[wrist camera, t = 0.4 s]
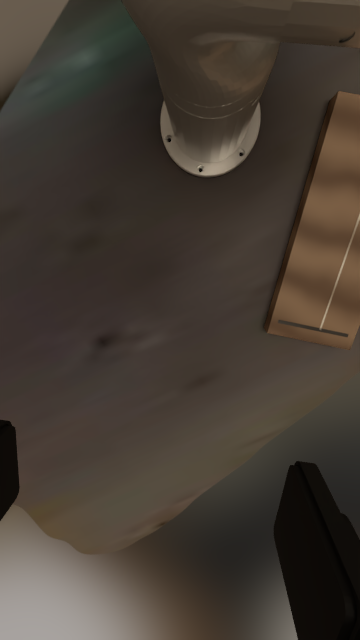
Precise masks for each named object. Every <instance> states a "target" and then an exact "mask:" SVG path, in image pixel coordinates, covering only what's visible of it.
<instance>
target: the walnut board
mask: <svg viewBox="0 0 360 640" xmlns="http://www.w3.org/2000/svg"><path fill="white" fill-rule="evenodd" d="M359 325H360V95H357V94H351V93H346V92H341V91H338V92H337V93H336V95H335V96H334V97H333V98H332V99H331V100H330V101H329V105H328V108H327V112H326V115H325V119H324V122H323V125H322V129H321V132H320V136H319V139H318V143H317V146H316V150H315V153H314V157H313V160H312V163H311V167H310V170H309V174H308V177H307V181H306V184H305V188H304V191H303V194H302V198H301V201H300V205H299V208H298V212H297V215H296V219H295V222H294V225H293V229H292V232H291V236H290V239H289V243H288V246H287V250H286V253H285V257H284V260H283V263H282V267H281V270H280V274H279V277H278V281H277V284H276V288H275V291H274V294H273V298H272V301H271V305H270V308H269V312H268V315H267V319H266V322H265V326H264V329H265V330H266V332H267V333H270V334H275V335H280V336H285V337H290V338H294V339H299V340H304V341H309V342H314V343H318V344H323V345H328V346H333V347H338V348H342V349H347V350H350V349H351V346H352V343H353V341H354V338H355V336H356V333H357V330H358V328H359Z"/></svg>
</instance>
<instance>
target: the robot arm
mask: <svg viewBox="0 0 360 640" xmlns="http://www.w3.org/2000/svg"><path fill="white" fill-rule="evenodd" d="M121 1H122V3H123V5H124V6H125V8H126V10H127V11H128V13H129V15H130V16H131V18H132V19H133V21H134V23H135V24H136V26H137V27H138V29H139V30H140V32H141V33H142V34H143V36H144V37H145V39H146V40H147V43H148V45H149V48H150V51H151V54H152V57H153V61H154V64H155V68H156V72H157V76H158V79H159V83H160V87H161V90H162V94H163V97H164V101H163V105H162V109H161V117H160V127H161V135H162V139H163V142H164V145H165V148H166V150H167V152H168V154H169V155H170V157H171V159H172V160H173V161H174V162H175V163H176V164H177V166H179V167H180V168H181V169H183V170H184V171H185V172H187V173H189V174H191V175H194V176H198V177H203V178H212V177H218V176H222V175H224V174H227V173H229V172H230V171H232V170H234V169H235V168H237V167H238V166H239V165H240V164H241V163H242V162H243V161H244V160H245V159H246V157H247V156H248V155H249V153H250V152H251V150H252V148H253V146H254V144H255V142H256V139H257V137H258V133H259V129H260V122H261V110H260V103H259V100H260V98H261V95H262V93H263V90H264V88H265V85H266V83H267V81H268V78H269V76H270V73H271V70H272V68H273V65H274V63H275V60H276V57H277V53H278V50H279V46H280V42H287V43H300V44H313V45H325V46H338V47H351V48H360V0H121ZM168 139H171V142H168ZM239 153H242V154H243V156H239ZM199 169H202V170H203V171H202V172H199ZM18 493H19V474H18V460H17V445H16V431H15V427H14V426H12V424H11V422H10V421H5V420H0V521H1V519H2V518H3V516H4V515H5V514H6V512H7V511H8V509H9V508H10V507H11V505H12V504H13V502H14V501H15V499H16V498H17V495H18ZM274 539H275V544H276V548H277V552H278V556H279V561H280V565H281V569H282V573H283V578H284V582H285V586H286V590H287V594H288V598H289V603H290V607H291V611H292V615H293V620H294V624H295V628H296V632H297V637H298V640H360V540H359V538H358V536H357V534H356V532H355V530H354V528H353V526H352V525H351V522H350V521H349V519H348V518H347V516H346V515H344V514H342V513H340V511H339V509H338V507H337V505H336V503H335V501H334V499H333V497H332V495H331V493H330V491H329V489H328V487H327V485H326V483H325V481H324V479H323V477H322V475H321V473H320V471H319V469H318V467H317V465H316V464H314V463H307V462H300V461H297V462H296V463H295V465H290V467H289V470H288V473H287V477H286V481H285V485H284V489H283V493H282V497H281V501H280V505H279V509H278V512H277V516H276V520H275V524H274Z"/></svg>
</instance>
